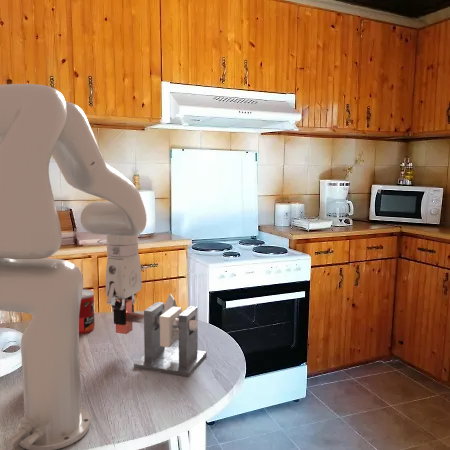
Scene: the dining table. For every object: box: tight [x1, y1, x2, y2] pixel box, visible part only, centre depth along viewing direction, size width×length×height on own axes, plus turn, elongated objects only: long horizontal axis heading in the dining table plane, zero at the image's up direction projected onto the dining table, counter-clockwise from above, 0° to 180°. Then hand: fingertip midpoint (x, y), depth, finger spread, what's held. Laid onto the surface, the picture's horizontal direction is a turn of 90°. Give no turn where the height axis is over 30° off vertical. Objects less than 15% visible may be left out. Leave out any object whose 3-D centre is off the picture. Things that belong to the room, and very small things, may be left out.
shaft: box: [115, 299, 199, 335], centre depth 105 cm, size 3×21×8 cm, turn 72°
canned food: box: [79, 288, 96, 335], centre depth 124 cm, size 8×8×11 cm
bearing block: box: [133, 301, 207, 378], centre depth 105 cm, size 12×14×14 cm
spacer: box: [160, 306, 183, 347], centre depth 104 cm, size 7×2×7 cm, turn 162°
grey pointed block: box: [164, 293, 178, 313], centre depth 125 cm, size 4×7×10 cm, turn 18°
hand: (124, 320), depth 108 cm, fingers closed on shaft, 3 cm apart
